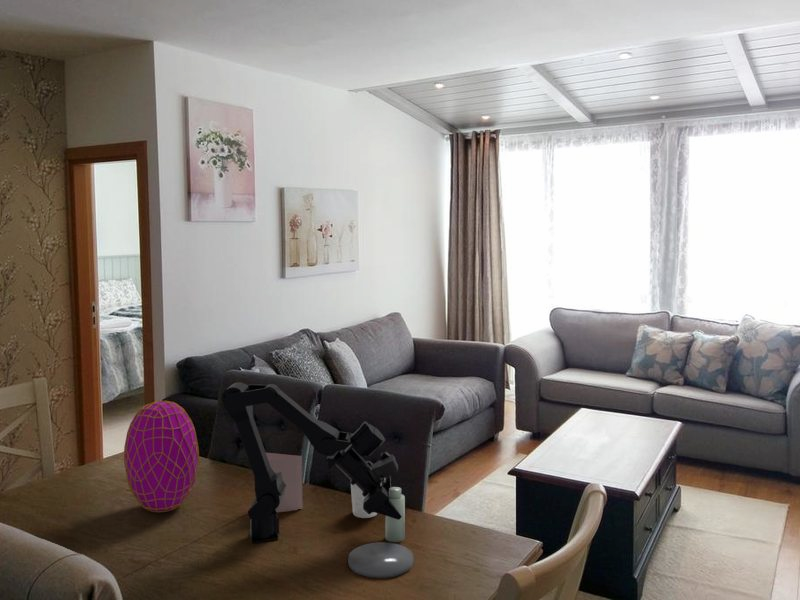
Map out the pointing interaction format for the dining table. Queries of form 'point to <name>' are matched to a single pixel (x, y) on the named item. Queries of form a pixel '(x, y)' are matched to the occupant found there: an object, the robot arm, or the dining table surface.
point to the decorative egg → (161, 456)
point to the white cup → (359, 503)
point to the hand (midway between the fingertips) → (400, 512)
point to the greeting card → (288, 479)
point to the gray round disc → (380, 560)
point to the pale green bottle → (392, 525)
